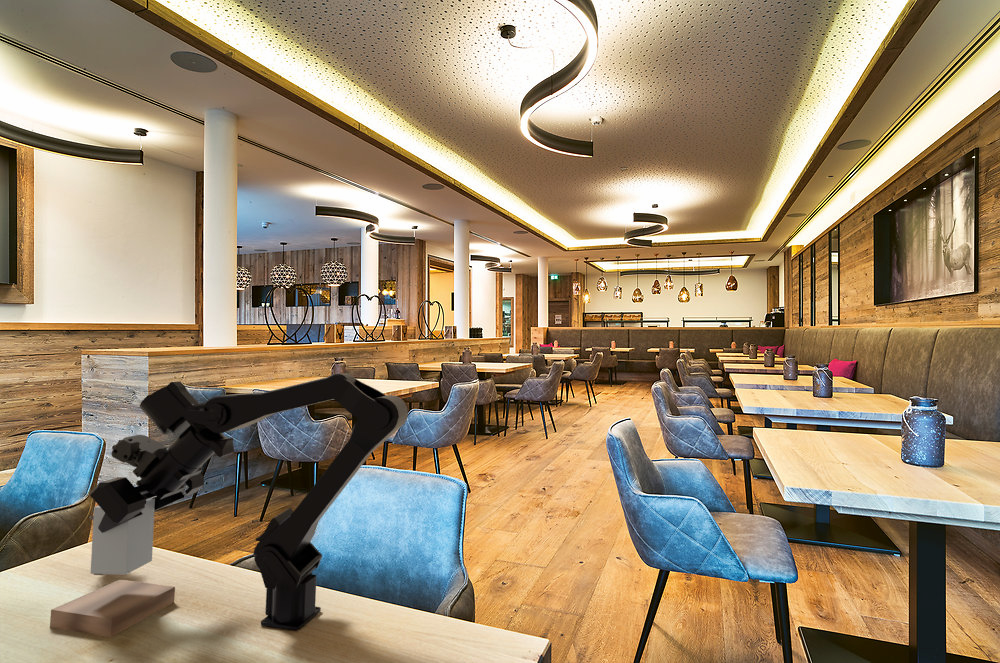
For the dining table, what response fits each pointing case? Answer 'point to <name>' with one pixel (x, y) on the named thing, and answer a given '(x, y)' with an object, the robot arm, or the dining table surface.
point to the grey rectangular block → (123, 543)
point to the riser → (112, 607)
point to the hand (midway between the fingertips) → (116, 524)
